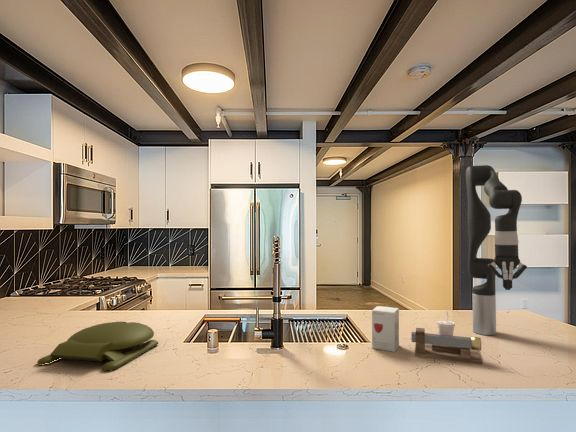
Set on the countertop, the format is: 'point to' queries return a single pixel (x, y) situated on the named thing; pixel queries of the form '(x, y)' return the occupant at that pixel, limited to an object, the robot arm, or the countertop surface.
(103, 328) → the spaceship
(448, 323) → the smoothie
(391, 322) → the supplement box
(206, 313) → the countertop surface
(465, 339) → the bar
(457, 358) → the holder
